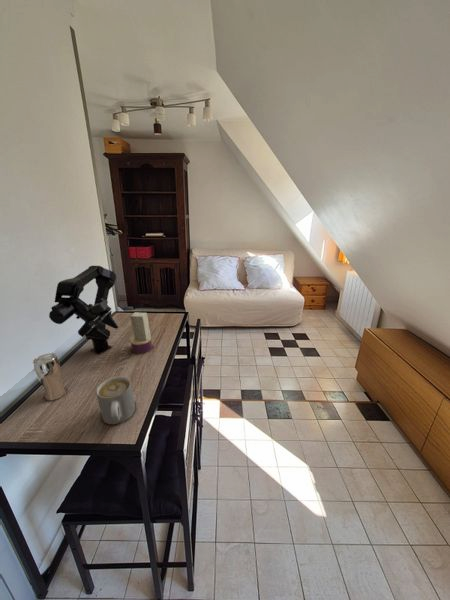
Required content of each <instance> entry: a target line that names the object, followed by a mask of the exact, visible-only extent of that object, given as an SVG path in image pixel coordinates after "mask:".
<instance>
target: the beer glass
mask: <svg viewBox="0 0 450 600" xmlns="http://www.w3.org/2000/svg"><path fill="white" fill-rule="evenodd" d="M32 364H33V368H34V372H35V373H34V374H35V375H36V378H37V380H38V381H39V383H40V385H41V386H42V388H43V390H44V399H45V400H47V401H55V400H57V399H60V398H62V397H63V396H64V395H65V394H66V392H67V391H66V388H65V387H64V385H63V381H62V368H61V364H60V361H59V359H58V356H57V354H56V353H53V352H50V353H49V352H48V353H44V354H41V355H39V356H37V357H35V358H34V359H33V360H32Z"/></svg>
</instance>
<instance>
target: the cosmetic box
mask: <svg viewBox="0 0 450 600" xmlns="http://www.w3.org/2000/svg"><path fill="white" fill-rule="evenodd" d="M129 317H130V323H131V327H132V333H133V336H134V339H135V340H147V339H148V338H149V337H150V335H151V331H150V324H149V317H148V312H141V311H140V312H138V311H135V312H133V313H132V314H130V315H129Z"/></svg>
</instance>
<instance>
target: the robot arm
mask: <svg viewBox="0 0 450 600" xmlns="http://www.w3.org/2000/svg"><path fill="white" fill-rule="evenodd" d="M93 280H95V284H96V285H97V290H96V294H95V299H94V303H93V304H92V303H89V304H88V303H86V302H85V301H83V300H82V299H81V298H80V296H81V294H82V293H83V291H84V290H85V287H86V285H87V284H89V283H90V282H91V281H93ZM116 280H117V275H116V273H115V272H114V271H113V270H110V269H108V268H105V267H103V266H101V265H90V266H88V268H86V269H85V270H83V271H82V272H80V273H78V275H76V276H74V277H71V278H66V279H64V280H61V281H58V283H57V286H56V289H55V297H54V303H57V304H55V305H53V306H51V307H50V309H51V311H49V313H48V317H49V319H50V321H52V322H53V323H54V324H57V325H62V324H64V323H65V322H67V321H68V320H69V319H70V318H71V317H73V316H74V315H76V317H75V319H77V320H79V319H81V320H82V321H84V324H83V325H81V327H80V328H79V329H78V330H77V333H78V335H79V336H80V337H82V338H84V337H85V338H86V340H91V341H92V346H93V348H91V349H90V351H91V352H94V353H96V354H103V353H104V352H106V351H108V350H110V349H111V348H112V346H111V345H109V343H108V342H109V341H108V340H109V339H110V336H111V331H110V330H109V329H107V326H109V327H110V328H113V329H116V330H117V329H118V328H119V326H118V324H117V323H116V321H115V320H114V318H113V316H112V307H110V306H109V305H108V303H109V301H108V298H109V293H110V290H111V289H112V288H113V287H114V285H115V283H116Z"/></svg>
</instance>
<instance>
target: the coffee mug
mask: <svg viewBox="0 0 450 600" xmlns="http://www.w3.org/2000/svg"><path fill="white" fill-rule="evenodd" d="M95 392H96V393H95V394H96V397H97V401H98V406H99V411H100V414H101V418H102V421H103V422H104V423H106V424H109V425H117V424H120V423H123V422H125V421H127V420H128V419H130V418H131V417H132V416H133V415H134V413H135V410H136V403H135V397H134V393H133V387H132V381H131V380H130V378H128V377H126V376H113V377H111V378H108V379H106V380H103V382H101V383H100V384H98V386H97V387H96V391H95Z"/></svg>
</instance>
